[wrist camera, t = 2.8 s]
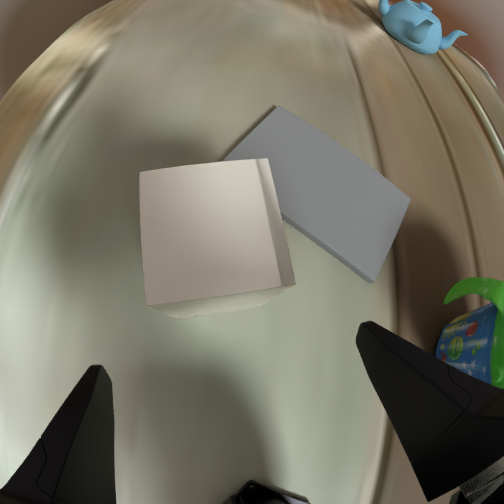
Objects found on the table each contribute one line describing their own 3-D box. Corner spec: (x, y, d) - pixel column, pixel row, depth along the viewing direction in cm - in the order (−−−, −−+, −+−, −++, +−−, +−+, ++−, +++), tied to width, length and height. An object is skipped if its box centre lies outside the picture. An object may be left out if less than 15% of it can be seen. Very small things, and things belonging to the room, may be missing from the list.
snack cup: (390, 325, 22) (479, 311, 13) (450, 263, 25) (523, 232, 15) (446, 438, 20) (518, 455, 10) (495, 371, 22) (561, 368, 13)
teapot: (406, 25, 43) (424, -4, 33) (449, 67, 39) (472, 37, 30) (361, 15, 39) (378, -22, 30) (408, 59, 36) (434, 20, 26)
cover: (257, 307, 21) (295, 284, 12) (176, 319, 20) (146, 305, 11) (244, 230, 23) (267, 158, 13) (167, 240, 22) (139, 171, 12)
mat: (406, 202, 26) (410, 199, 25) (369, 283, 23) (374, 281, 22) (277, 110, 27) (279, 105, 26) (215, 172, 24) (215, 167, 23)
